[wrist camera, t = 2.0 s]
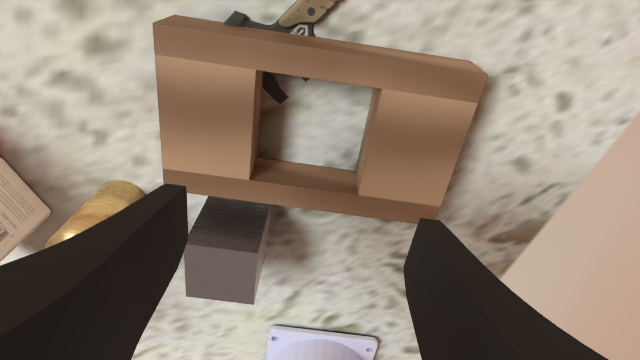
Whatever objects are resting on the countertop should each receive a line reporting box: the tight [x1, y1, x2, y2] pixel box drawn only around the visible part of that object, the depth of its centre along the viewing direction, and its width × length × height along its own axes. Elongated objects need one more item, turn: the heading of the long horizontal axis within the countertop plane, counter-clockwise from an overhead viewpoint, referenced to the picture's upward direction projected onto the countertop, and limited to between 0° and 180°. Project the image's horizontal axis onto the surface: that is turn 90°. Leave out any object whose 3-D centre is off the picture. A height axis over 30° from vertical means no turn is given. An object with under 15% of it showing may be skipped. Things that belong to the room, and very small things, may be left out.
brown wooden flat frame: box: [153, 15, 488, 224], centre depth 19 cm, size 8×14×2 cm, turn 82°
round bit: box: [44, 180, 145, 249], centre depth 21 cm, size 3×3×5 cm
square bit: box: [184, 196, 271, 305], centre depth 21 cm, size 4×4×5 cm
